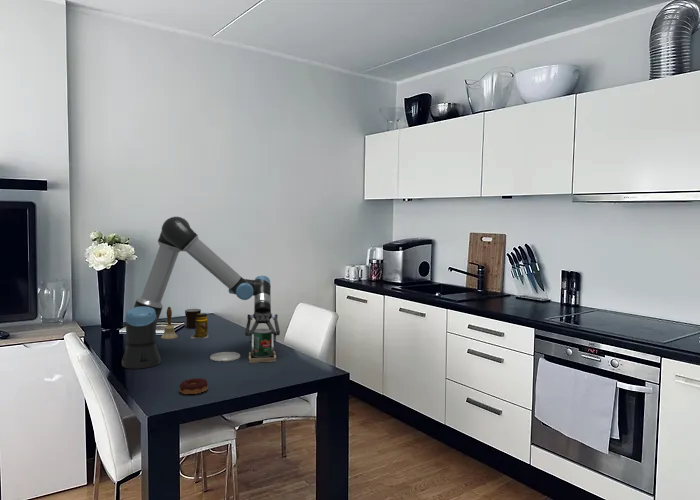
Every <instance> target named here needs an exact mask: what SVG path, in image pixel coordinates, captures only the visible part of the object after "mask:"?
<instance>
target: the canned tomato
mask: <svg viewBox="0 0 700 500" xmlns="http://www.w3.org/2000/svg"><path fill="white" fill-rule="evenodd" d="M253 334H254V350H252V352H253V357H254V358H270V357H272V356H271V351H272V349H271V339H272V338H271V337H272V330H270V329H269V328H256V330H254V333H253Z"/></svg>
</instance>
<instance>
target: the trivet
mask: <svg viewBox="0 0 700 500" xmlns="http://www.w3.org/2000/svg"><path fill="white" fill-rule="evenodd" d="M209 358H210V360H212V361H213V360H214V362H221V361H223V362H232V361H236V360H238V359H240V358H241V354H240V353H239V352H236V351H222V352H221V351H220V352H215V353H212V354H211V355H210V356H209Z"/></svg>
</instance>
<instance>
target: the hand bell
mask: <svg viewBox="0 0 700 500" xmlns="http://www.w3.org/2000/svg"><path fill="white" fill-rule="evenodd" d="M172 316H173V311H172V308H171V306H167V309H166V318H167V326H165V327H164V331H163V334H162V335H161V336H160V339H162V340H174V339H178V335H177V333H176V332H175V327H174V326H173V325H172Z"/></svg>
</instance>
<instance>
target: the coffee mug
mask: <svg viewBox="0 0 700 500" xmlns="http://www.w3.org/2000/svg"><path fill="white" fill-rule="evenodd" d="M201 312H202V309H201V308H200V309H199V308H187V309H185V310H184V314H185V316H184V317H185V321H186V328H187V329H189V330H194V329H196V327H195V326H196V324H195V320H196V315H197V314H199V313H201Z"/></svg>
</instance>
